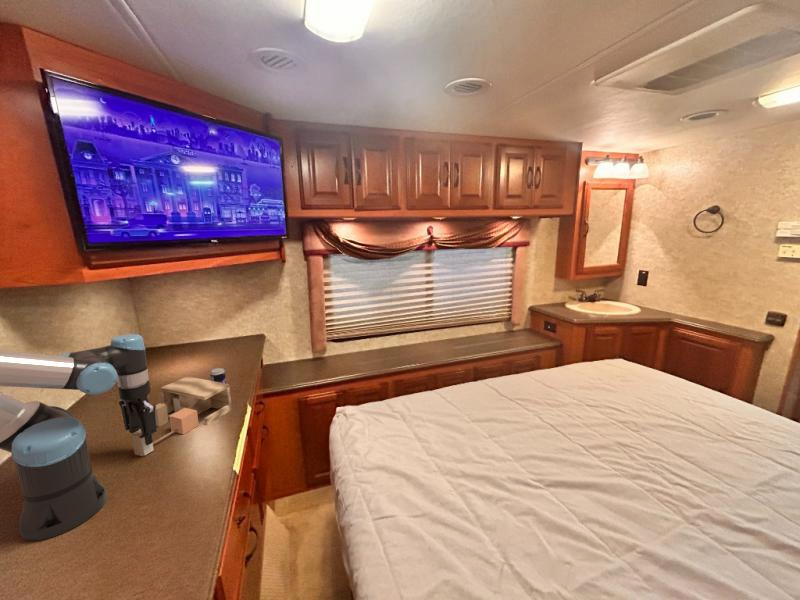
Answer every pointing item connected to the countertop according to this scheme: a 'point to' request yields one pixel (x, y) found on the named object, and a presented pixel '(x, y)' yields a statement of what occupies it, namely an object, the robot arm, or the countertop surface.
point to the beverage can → (218, 375)
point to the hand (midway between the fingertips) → (144, 451)
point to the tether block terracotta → (178, 424)
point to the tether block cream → (165, 411)
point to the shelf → (198, 396)
